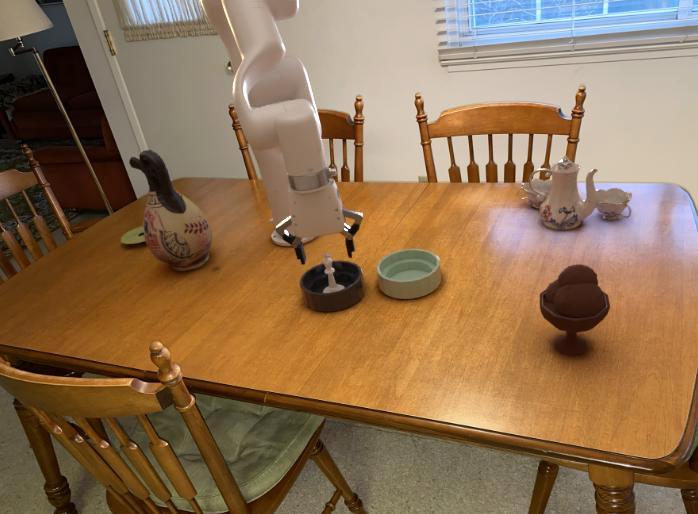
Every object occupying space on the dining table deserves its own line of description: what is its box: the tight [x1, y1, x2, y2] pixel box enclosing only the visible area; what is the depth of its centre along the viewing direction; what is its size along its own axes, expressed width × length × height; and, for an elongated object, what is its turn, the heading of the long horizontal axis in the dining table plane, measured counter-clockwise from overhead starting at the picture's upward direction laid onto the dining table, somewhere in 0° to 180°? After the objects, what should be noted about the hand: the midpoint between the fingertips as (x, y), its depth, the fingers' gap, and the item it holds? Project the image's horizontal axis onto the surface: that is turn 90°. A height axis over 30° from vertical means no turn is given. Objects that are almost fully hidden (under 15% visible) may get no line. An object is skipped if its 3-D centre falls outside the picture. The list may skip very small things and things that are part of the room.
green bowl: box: [375, 248, 442, 300], centre depth 116 cm, size 13×13×4 cm
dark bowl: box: [299, 260, 366, 312], centre depth 116 cm, size 13×13×4 cm
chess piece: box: [321, 251, 345, 293], centre depth 114 cm, size 5×5×10 cm
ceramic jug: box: [128, 149, 213, 272], centre depth 130 cm, size 17×15×30 cm
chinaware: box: [516, 155, 633, 231], centre depth 128 cm, size 28×17×17 cm, turn 58°
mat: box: [120, 225, 146, 245], centre depth 154 cm, size 11×11×2 cm
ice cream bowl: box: [539, 263, 611, 357], centre depth 90 cm, size 11×11×15 cm
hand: (327, 258), depth 112 cm, fingers open, 9 cm apart
